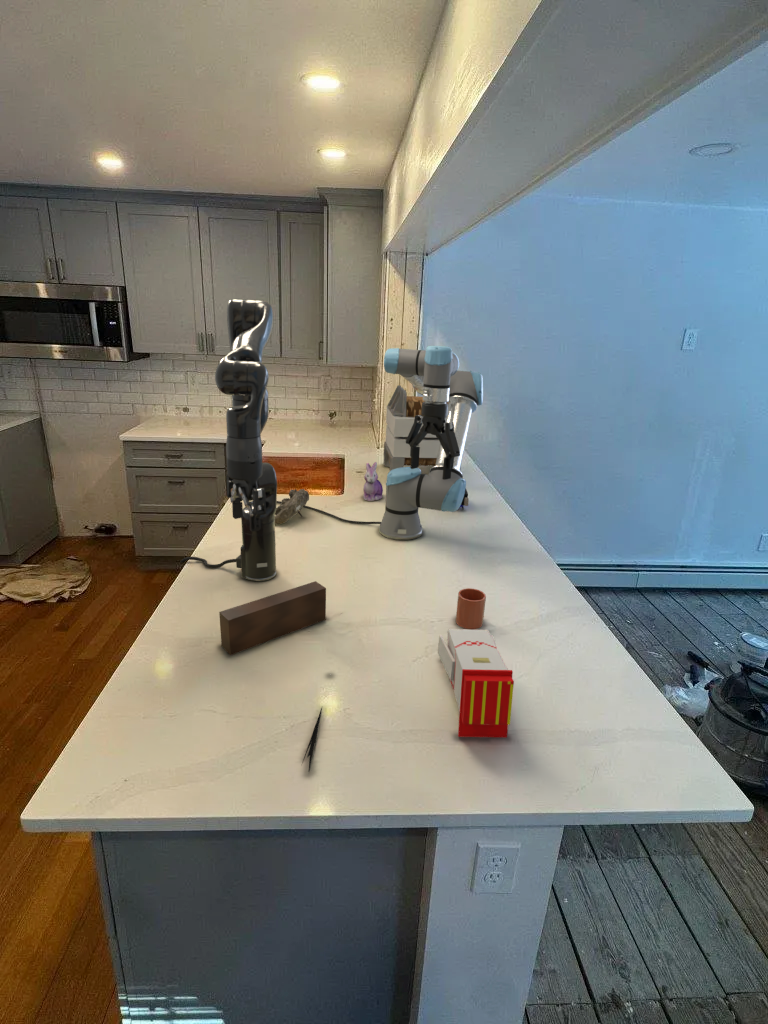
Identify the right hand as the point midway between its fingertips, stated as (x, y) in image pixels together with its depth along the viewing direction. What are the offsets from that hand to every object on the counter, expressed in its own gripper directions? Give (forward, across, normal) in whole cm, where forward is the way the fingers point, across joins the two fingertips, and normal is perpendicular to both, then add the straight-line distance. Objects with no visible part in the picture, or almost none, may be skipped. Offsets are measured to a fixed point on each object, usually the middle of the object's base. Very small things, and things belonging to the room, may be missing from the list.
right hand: (430, 473), depth 170 cm
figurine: (+29, -57, +26) cm, 69 cm away
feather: (+29, +41, -68) cm, 84 cm away
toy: (+29, +53, -38) cm, 71 cm away
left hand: (+1, +4, -63) cm, 63 cm away
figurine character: (+29, -30, +49) cm, 64 cm away
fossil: (+29, -57, -13) cm, 65 cm away
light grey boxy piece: (+29, -74, +70) cm, 105 cm away
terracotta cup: (+29, +34, -17) cm, 48 cm away
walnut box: (+29, +9, -59) cm, 66 cm away
